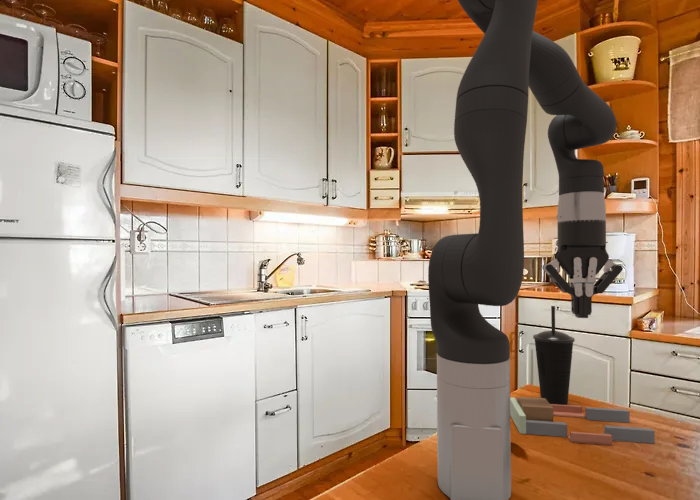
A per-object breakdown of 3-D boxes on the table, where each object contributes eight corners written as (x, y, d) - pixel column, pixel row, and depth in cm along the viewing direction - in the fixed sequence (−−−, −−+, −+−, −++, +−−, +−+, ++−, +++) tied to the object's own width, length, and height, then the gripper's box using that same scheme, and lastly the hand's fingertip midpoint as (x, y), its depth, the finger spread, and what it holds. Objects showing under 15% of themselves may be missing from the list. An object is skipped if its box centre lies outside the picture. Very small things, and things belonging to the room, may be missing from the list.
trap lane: (661, 449, 64) (661, 436, 64) (528, 439, 68) (528, 426, 68) (621, 416, 77) (621, 405, 77) (512, 409, 81) (512, 399, 81)
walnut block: (553, 431, 71) (553, 408, 71) (523, 429, 72) (522, 406, 72) (545, 419, 76) (545, 398, 76) (517, 417, 77) (516, 396, 77)
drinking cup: (575, 413, 78) (573, 309, 79) (531, 406, 82) (530, 307, 83) (576, 401, 85) (574, 305, 85) (536, 395, 89) (534, 303, 89)
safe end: (526, 433, 70) (525, 416, 70) (519, 433, 70) (519, 415, 70) (514, 413, 79) (514, 397, 79) (509, 412, 79) (509, 397, 79)
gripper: (547, 218, 70) (547, 319, 70) (632, 217, 68) (633, 322, 68) (535, 222, 78) (536, 313, 77) (612, 221, 75) (613, 315, 75)
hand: (581, 317), depth 72 cm, fingers closed
